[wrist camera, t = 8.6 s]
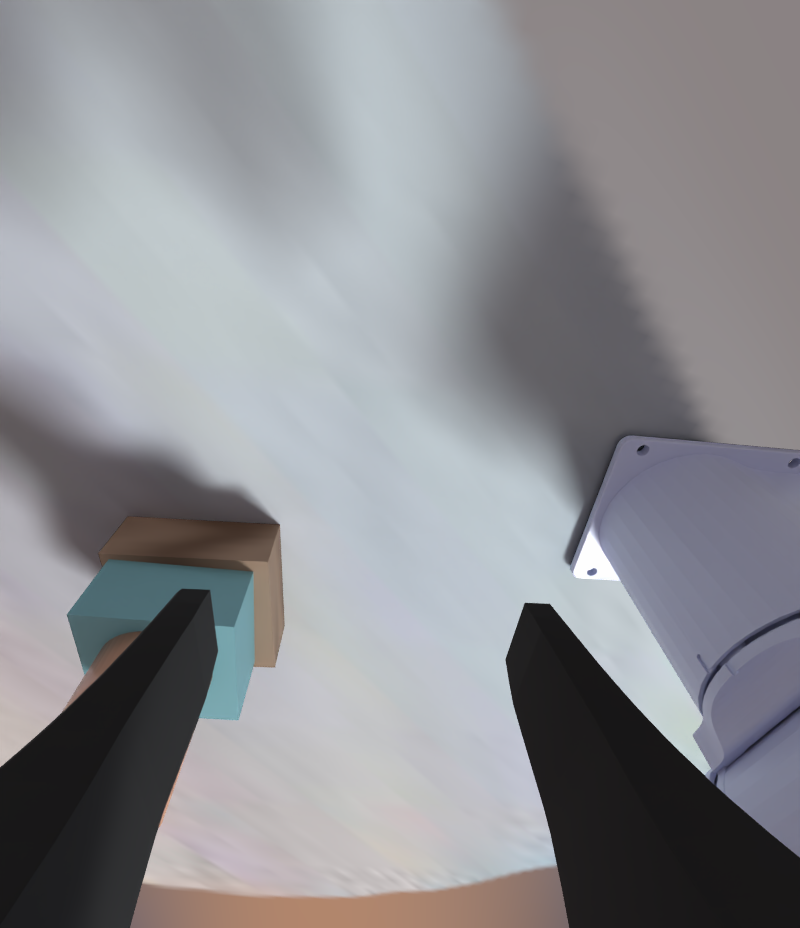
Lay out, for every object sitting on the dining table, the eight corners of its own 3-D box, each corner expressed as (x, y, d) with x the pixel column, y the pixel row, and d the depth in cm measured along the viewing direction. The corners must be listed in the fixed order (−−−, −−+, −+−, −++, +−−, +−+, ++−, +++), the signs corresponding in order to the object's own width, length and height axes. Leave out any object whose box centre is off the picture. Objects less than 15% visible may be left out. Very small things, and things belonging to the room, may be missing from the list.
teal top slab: (253, 571, 20) (234, 627, 18) (254, 661, 23) (238, 720, 21) (108, 558, 20) (67, 614, 17) (128, 652, 23) (95, 712, 20)
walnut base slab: (281, 519, 23) (267, 562, 20) (285, 620, 26) (274, 667, 24) (131, 511, 22) (98, 553, 20) (156, 615, 26) (130, 662, 23)
